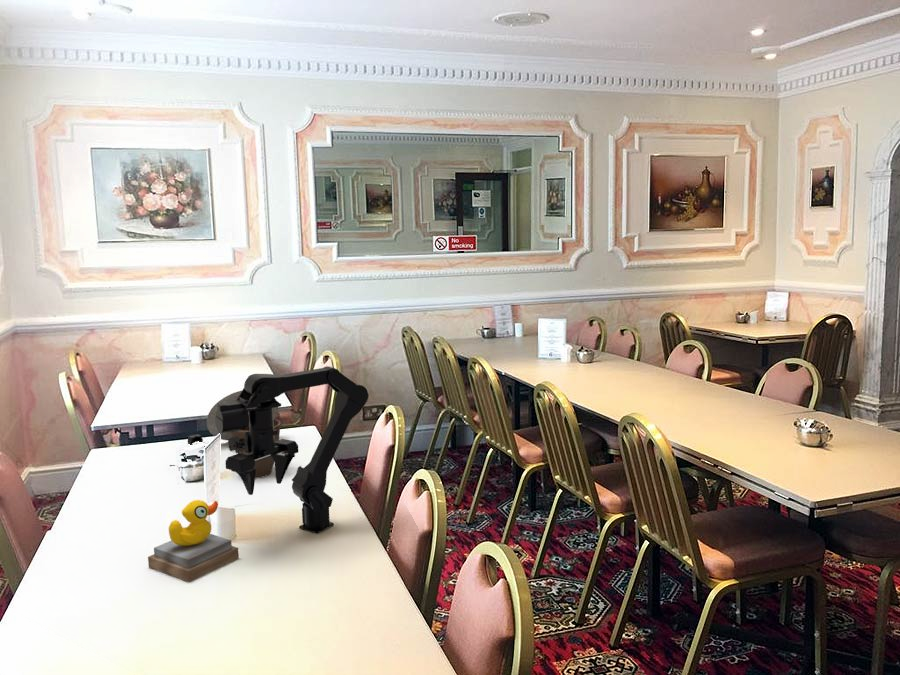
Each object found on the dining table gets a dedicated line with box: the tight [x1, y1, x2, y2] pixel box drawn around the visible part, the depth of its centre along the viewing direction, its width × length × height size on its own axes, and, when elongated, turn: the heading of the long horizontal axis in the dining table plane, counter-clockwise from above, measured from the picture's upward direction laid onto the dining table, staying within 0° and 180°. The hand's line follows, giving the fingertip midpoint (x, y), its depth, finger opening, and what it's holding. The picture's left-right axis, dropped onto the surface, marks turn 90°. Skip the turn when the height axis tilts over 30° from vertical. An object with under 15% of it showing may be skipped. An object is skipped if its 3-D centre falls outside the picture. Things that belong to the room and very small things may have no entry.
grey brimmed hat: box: [206, 390, 279, 441], centre depth 264 cm, size 25×18×25 cm
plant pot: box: [232, 418, 281, 478], centre depth 235 cm, size 15×15×16 cm
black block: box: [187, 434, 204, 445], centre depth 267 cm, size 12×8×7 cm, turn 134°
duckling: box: [168, 499, 219, 546], centre depth 174 cm, size 11×5×10 cm, turn 127°
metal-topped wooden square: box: [147, 533, 240, 583], centre depth 174 cm, size 14×14×4 cm
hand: (265, 488), depth 185 cm, fingers open, 9 cm apart
